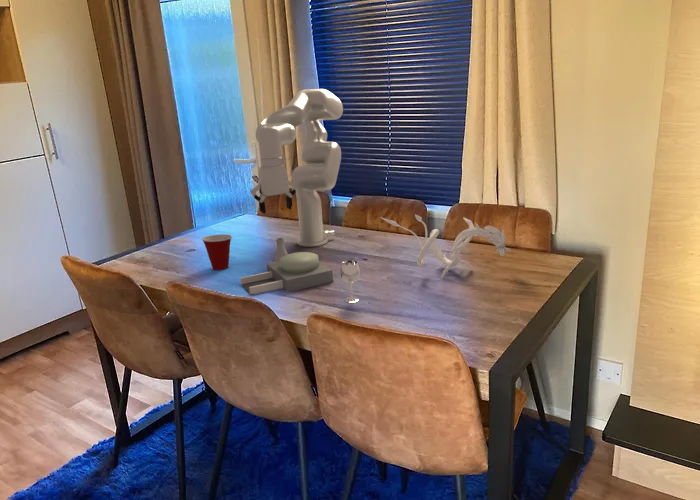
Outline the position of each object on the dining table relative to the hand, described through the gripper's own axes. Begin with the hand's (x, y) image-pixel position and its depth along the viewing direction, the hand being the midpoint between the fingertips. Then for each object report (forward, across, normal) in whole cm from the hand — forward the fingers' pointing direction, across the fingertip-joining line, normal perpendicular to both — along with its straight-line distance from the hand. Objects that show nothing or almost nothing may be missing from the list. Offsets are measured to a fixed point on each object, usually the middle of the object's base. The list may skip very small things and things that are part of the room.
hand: (276, 210), depth 206 cm
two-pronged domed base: (+20, +5, +17) cm, 27 cm away
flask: (+21, 0, 0) cm, 21 cm away
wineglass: (+21, -6, +45) cm, 50 cm away
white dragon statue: (+21, -41, +43) cm, 63 cm away
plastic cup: (+21, +20, -11) cm, 31 cm away
